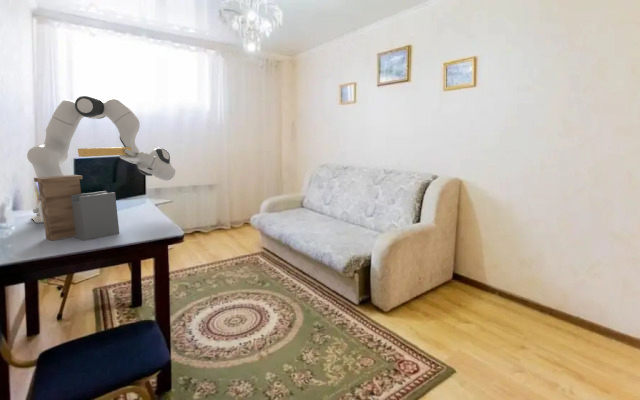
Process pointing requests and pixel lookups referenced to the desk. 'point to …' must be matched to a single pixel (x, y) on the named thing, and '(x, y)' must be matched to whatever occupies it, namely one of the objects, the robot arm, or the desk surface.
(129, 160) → the robot arm
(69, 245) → the desk surface
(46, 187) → the stand
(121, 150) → the wooden block
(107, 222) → the cradle
